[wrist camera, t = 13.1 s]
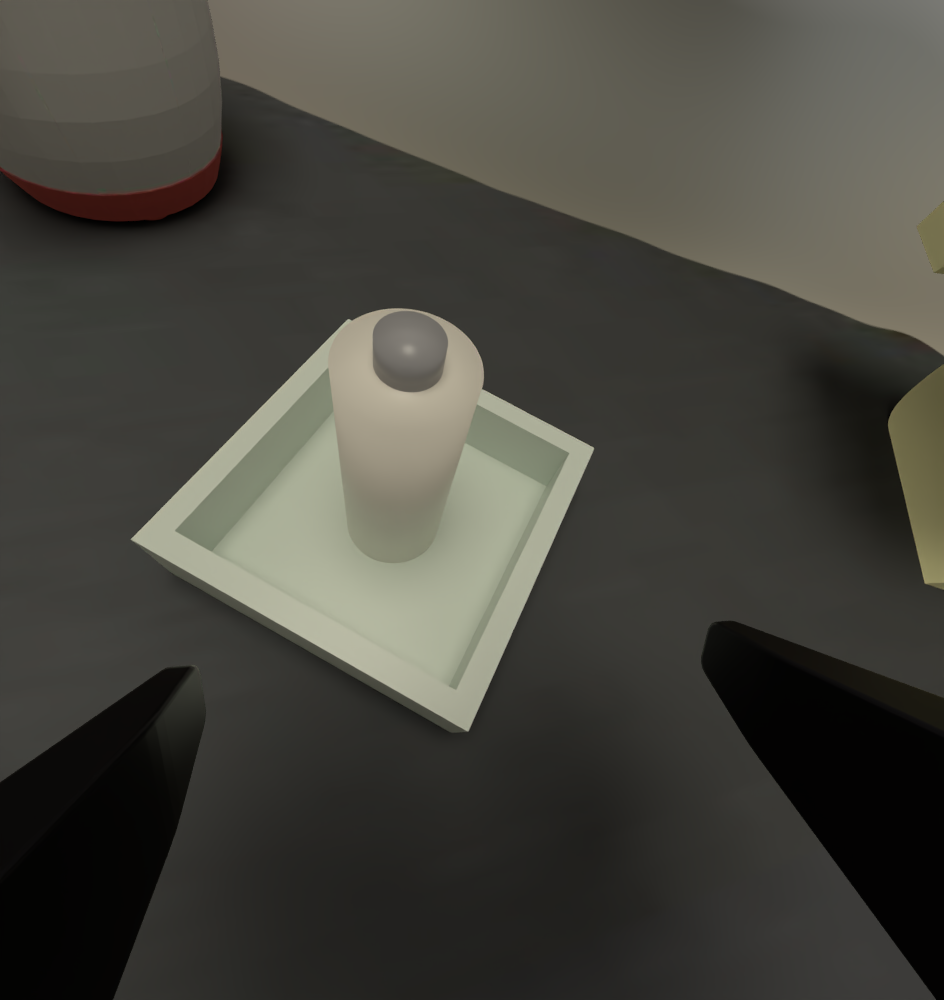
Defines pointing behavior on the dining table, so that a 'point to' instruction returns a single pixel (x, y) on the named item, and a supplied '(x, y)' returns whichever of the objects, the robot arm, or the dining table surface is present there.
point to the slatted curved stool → (924, 438)
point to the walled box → (353, 575)
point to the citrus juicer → (110, 105)
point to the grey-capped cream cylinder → (400, 425)
